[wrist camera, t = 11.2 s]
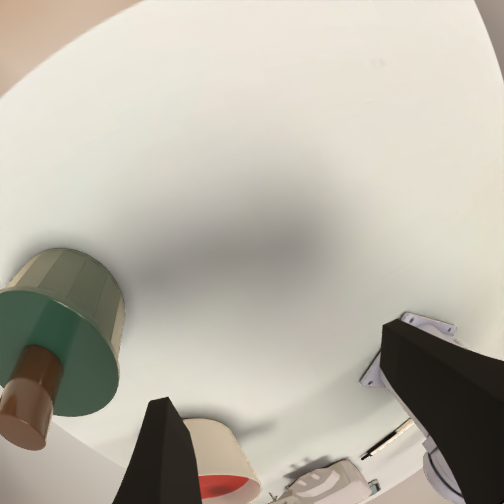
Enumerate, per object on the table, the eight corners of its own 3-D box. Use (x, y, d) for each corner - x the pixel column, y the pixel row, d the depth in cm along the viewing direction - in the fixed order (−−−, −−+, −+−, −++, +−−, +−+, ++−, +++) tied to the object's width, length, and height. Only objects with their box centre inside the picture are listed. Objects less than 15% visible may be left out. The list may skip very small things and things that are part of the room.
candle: (178, 470, 26) (187, 522, 20) (122, 428, 22) (122, 491, 16) (258, 442, 26) (278, 495, 21) (215, 393, 23) (232, 461, 17)
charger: (333, 441, 30) (360, 471, 37) (262, 477, 30) (307, 499, 37) (350, 473, 26) (374, 494, 33) (274, 509, 26) (317, 522, 33)
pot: (137, 269, 18) (128, 321, 13) (113, 361, 20) (106, 421, 15) (24, 232, 15) (-18, 271, 10) (17, 330, 17) (-9, 382, 12)
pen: (361, 457, 34) (358, 456, 34) (469, 364, 33) (468, 360, 32) (364, 462, 34) (361, 460, 33) (473, 367, 32) (472, 364, 32)
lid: (135, 309, 13) (126, 402, 8) (110, 416, 15) (106, 495, 10) (-18, 256, 10) (-81, 321, 6) (-11, 376, 13) (-40, 445, 8)
